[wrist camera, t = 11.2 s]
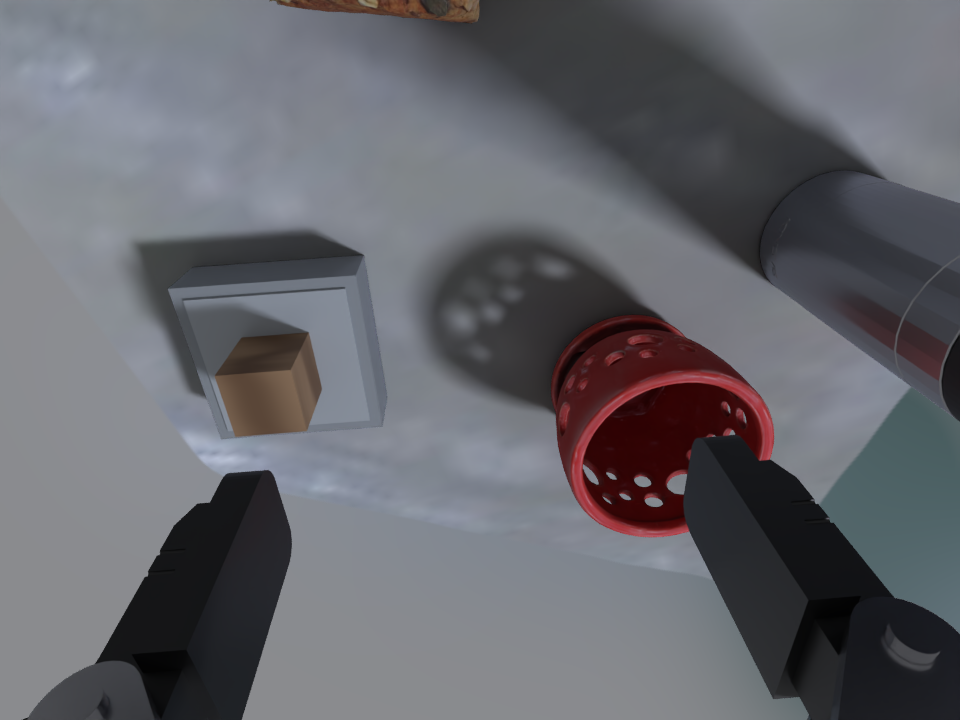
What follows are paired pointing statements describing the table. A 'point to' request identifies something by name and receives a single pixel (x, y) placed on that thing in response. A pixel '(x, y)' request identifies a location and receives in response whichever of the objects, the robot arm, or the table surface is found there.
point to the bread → (397, 8)
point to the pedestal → (289, 330)
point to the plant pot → (645, 418)
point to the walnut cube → (270, 384)
